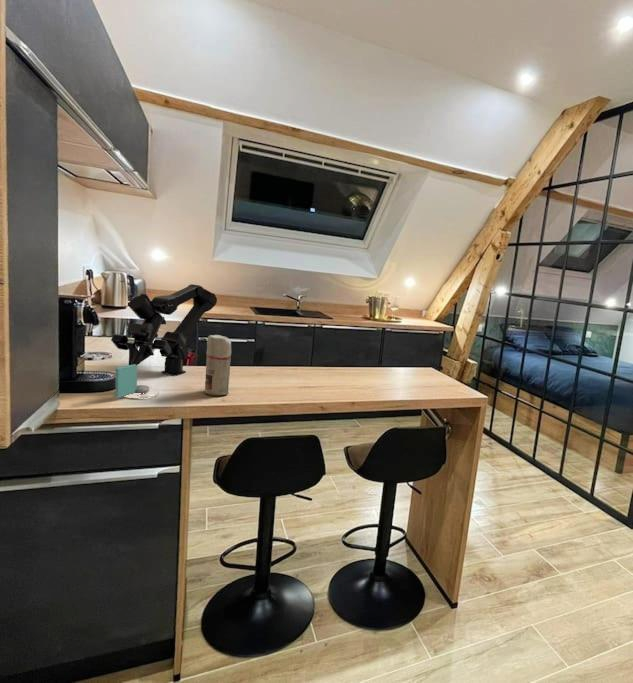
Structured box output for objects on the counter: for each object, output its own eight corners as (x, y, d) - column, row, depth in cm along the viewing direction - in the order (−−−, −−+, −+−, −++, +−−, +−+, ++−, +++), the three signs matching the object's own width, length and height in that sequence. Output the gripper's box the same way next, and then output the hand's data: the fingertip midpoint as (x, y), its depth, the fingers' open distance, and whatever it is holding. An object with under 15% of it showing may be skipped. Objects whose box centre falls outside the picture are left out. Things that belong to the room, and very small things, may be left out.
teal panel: (142, 387, 132) (142, 360, 130) (152, 390, 130) (153, 363, 128) (111, 395, 122) (111, 366, 121) (122, 399, 120) (122, 370, 118)
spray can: (202, 389, 139) (205, 332, 135) (226, 388, 142) (230, 333, 138) (205, 397, 131) (208, 337, 128) (230, 396, 134) (234, 338, 131)
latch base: (134, 386, 135) (134, 384, 135) (165, 390, 133) (165, 389, 133) (114, 396, 124) (114, 394, 124) (147, 401, 123) (147, 399, 123)
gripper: (114, 310, 132) (92, 349, 123) (167, 316, 130) (149, 357, 121) (128, 329, 141) (108, 367, 133) (178, 335, 139) (162, 374, 131)
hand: (131, 366), depth 129 cm, fingers closed
